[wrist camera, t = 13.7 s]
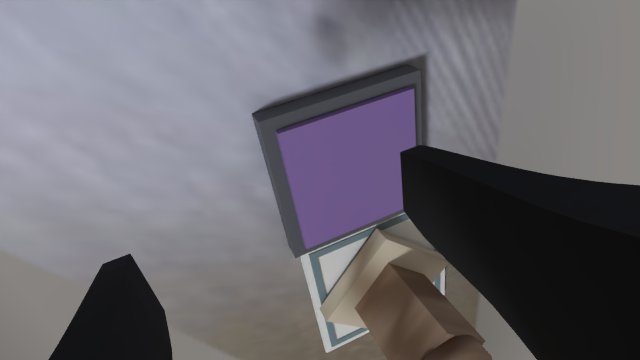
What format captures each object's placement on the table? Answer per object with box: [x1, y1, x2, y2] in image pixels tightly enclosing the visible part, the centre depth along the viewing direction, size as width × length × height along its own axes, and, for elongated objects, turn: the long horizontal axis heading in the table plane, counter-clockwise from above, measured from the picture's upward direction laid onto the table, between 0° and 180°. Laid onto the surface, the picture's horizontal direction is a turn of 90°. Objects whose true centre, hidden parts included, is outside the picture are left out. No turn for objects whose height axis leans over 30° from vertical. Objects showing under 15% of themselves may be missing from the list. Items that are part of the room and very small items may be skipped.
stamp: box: [319, 228, 492, 360], centre depth 25 cm, size 7×7×9 cm
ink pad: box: [252, 65, 422, 258], centre depth 22 cm, size 9×9×2 cm
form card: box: [300, 212, 445, 353], centre depth 29 cm, size 11×11×1 cm
